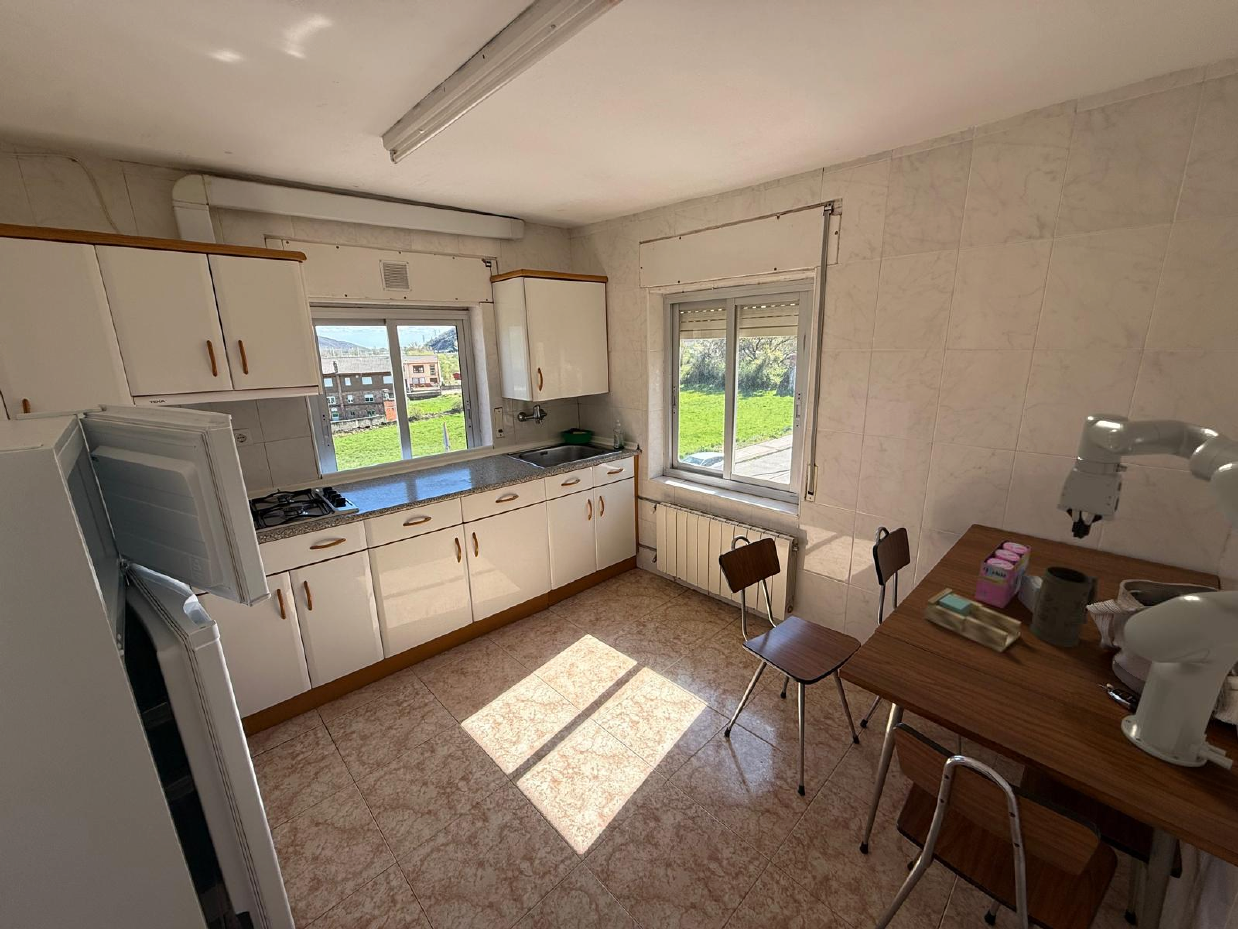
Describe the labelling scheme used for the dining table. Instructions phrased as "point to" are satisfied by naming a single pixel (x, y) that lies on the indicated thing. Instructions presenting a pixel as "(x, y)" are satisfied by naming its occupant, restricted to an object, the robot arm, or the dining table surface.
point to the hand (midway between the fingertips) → (1079, 536)
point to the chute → (975, 622)
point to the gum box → (1002, 573)
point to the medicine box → (1029, 590)
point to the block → (955, 605)
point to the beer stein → (1063, 605)
